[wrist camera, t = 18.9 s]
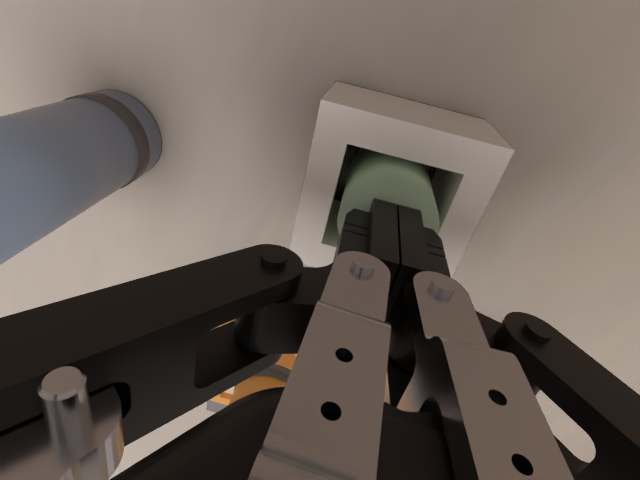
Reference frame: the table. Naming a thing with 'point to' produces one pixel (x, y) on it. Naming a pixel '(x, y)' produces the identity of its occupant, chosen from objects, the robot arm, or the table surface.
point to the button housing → (404, 142)
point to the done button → (388, 186)
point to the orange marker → (266, 378)
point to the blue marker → (69, 161)
